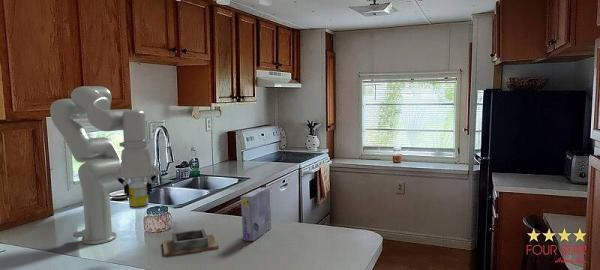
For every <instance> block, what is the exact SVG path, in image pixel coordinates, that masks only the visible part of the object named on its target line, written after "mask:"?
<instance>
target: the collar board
mask: <svg viewBox="0 0 600 270" xmlns="http://www.w3.org/2000/svg"><path fill="white" fill-rule="evenodd" d="M171 237H172V239H170V240H163V241H162V246H163V247H162V248H163V255H164V257H169V256H175V255H176V256H177V255H182V254H183V255H184V254H190V253H191V254H192V253H197V252H203V251H210V250H217V249H219V243H218V242H217V240H216V238H215V235H214V234H207V233H206V232H205V229H204V228H201V229H194V230H192V229H191V230H186V231H185V230H184V231H179V232H178V231H177V232H172V233H171Z"/></svg>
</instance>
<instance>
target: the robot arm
mask: <svg viewBox="0 0 600 270" xmlns="http://www.w3.org/2000/svg"><path fill="white" fill-rule="evenodd" d="M112 100H113V98H112V94H111V91H110V90H109V89H108V88H107V87H105V86H102V85H101V86H98V85H97V86H96V85H95V86H89V85H88V86H87V85H86V86H84V85H83V86H78V87H75V88H74V89H73V90H72V92H71V94H70V98H61V99H57V100H55V101H53V102H52V103H51V104H50V110H49V114H50V117H51V120H52V123H53V125H54V127H55V128H56V130H58V132H59V134H61V135H62V137H63V138H64V140H65V142H66V146H68V149H69V151H70V153H71V155H72V157H73V158H74V160H75V161H76V162H77V163H79V164H80V163H81V165H80V166H79V167H78V170H77V172H78V173H77V175H78V180H79V183H80V186H81V193H82V203H83V204H82V205H83V213H84V214H83V215H84V217H83V218H84V229H82V230H81V231H73V232H72V236H73V238H74V237H75V238H76V239H77V238H81V243H82V244H85V245H98V244H104V243H108V242H111V241H113V240H115V239H116V238H117V232H115V231H113V229H112V213H111V200H110V199H111V198H110V193H109V191H108V190H107V189H106V187H105V186H104V184H109V183H112V182H117V181H118V182H119V183H120V184H121V185H122V186H123V191H124V192H123V193H124V195H126V197H128V198H129V191H128V185H129V183H128V181H129V180H130V178H140V177H144V178H146V180H147V187H148V196H149V195H151V193H152V192H153V187H152V183H153V182H154V181H155V180H156V179H157V178H158V177H159V176H160V174H161V170H160V169H158V168H157V167H155V166H154V165H153V164H152V155H151V151H150V148H149V147H148V146H147V145H148V143H147V142H148V141H147V140H148V139H147V126H146V125H147V123H146V114H145V111H143V110H140V109H129V108H128V109H123V108H122V109H111V104H112ZM84 119H88V122H89V124H90V125H91V126H93V128H95V129H97V130H99V131H100V132H101V131H102V132H115V131H117V132H118V131H122V132H123V133H122V135H123V141H122V142H119V147H121V148H123V149H122V150H121V155H120V153H119V151H118V150H117V148H116V145H115V144H114V143H113V141H112V140H111V139H109V138H108V137H92V136H90V135H89V133H88V131H87V130H86V128H85V127H84V126H83V125H81V124H80V122H77V121H76V120H84ZM153 172H154V174H153Z"/></svg>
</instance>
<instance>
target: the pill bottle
mask: <svg viewBox="0 0 600 270" xmlns="http://www.w3.org/2000/svg"><path fill="white" fill-rule="evenodd" d="M129 180H130V182H129V183H128V191H129V196H128V202H129V203H128V204H129V205H128V206H129V209H131V210H143V209H146V208H148V207H149V205H150V204H149V194H148V187H147V183H148V181H144V180H145V177H140V178H129Z"/></svg>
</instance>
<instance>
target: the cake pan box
mask: <svg viewBox="0 0 600 270" xmlns="http://www.w3.org/2000/svg"><path fill="white" fill-rule="evenodd" d="M270 191H271V190H270V187H269V186H268V187H267V186H266V187H259V188H257V189H254V190H252V191H250V192H247V193H245V194H243V195H241V196H240V208H241V210H240V211H241V223H242V225H241V226H242V239H243V241H244V242H245V241H246V242H252V243H253V242H255V241H256V240H257V239H258V238H260V237H262V236H264V235H265V234H266V233H267V232H268V231H269V230H271V229H272V214H271V211H272V210H271V197H270V196H271V193H270Z"/></svg>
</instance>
